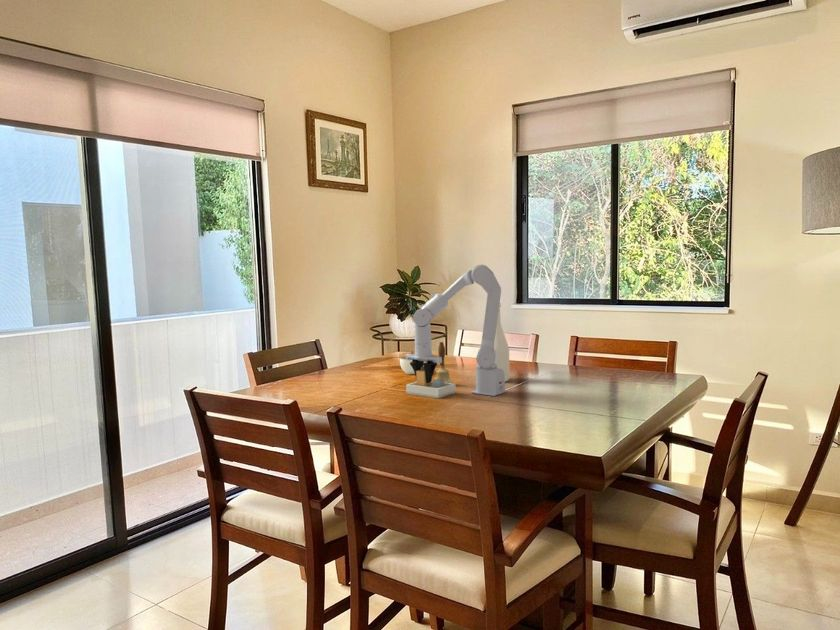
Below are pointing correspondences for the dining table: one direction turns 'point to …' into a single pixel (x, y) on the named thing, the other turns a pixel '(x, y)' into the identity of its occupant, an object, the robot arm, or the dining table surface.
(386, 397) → the dining table surface
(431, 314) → the robot arm
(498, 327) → the wine bottle
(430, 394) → the box
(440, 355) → the hand bell
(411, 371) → the lidded jar
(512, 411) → the dining table surface
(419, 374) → the tan wooden block
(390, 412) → the dining table surface
